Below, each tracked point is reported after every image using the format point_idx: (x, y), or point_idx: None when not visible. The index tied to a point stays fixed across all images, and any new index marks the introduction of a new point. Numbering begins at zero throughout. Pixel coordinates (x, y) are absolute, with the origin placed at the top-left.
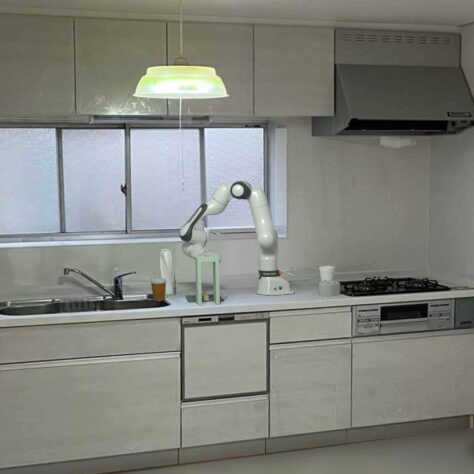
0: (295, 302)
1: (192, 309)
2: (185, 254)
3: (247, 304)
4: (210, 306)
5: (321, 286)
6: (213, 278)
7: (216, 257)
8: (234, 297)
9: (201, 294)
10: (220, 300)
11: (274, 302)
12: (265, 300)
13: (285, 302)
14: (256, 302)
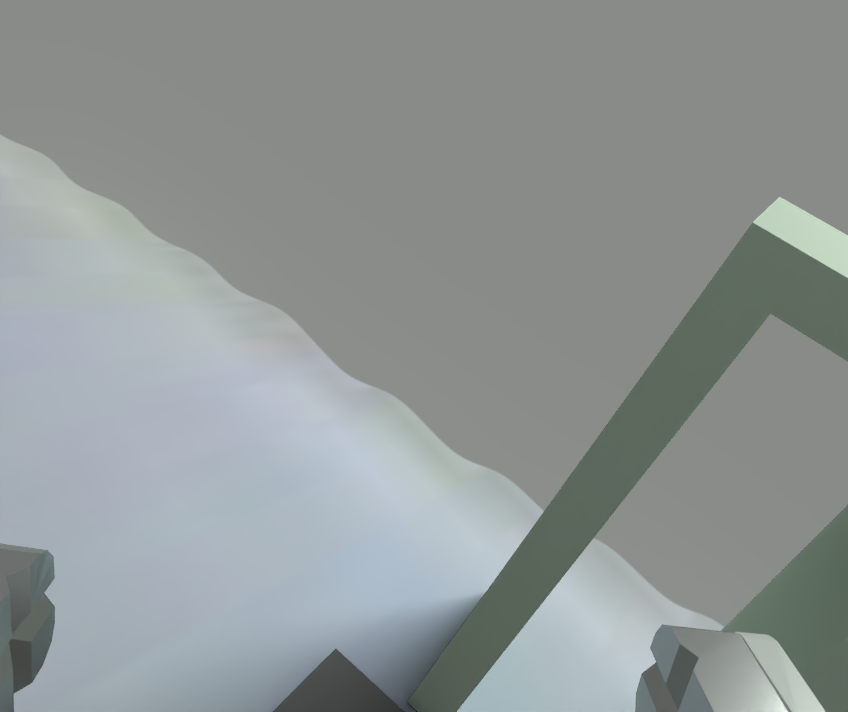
0: (78, 209)
1: None
2: None
3: (333, 419)
4: (595, 617)
5: None
6: (593, 537)
7: (799, 215)
8: None
9: None
10: (366, 681)
11: (146, 297)
12: (86, 353)
13: (109, 249)
14: (218, 388)
